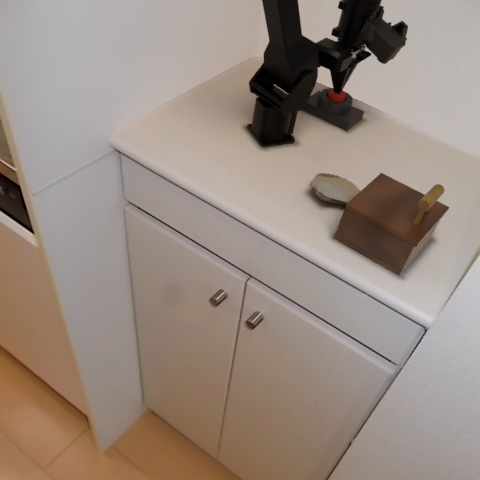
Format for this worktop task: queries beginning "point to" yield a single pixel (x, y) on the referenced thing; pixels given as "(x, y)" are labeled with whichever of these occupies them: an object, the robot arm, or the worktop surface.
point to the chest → (377, 242)
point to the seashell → (333, 188)
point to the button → (336, 96)
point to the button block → (334, 110)
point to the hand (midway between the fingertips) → (337, 92)
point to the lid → (399, 208)
